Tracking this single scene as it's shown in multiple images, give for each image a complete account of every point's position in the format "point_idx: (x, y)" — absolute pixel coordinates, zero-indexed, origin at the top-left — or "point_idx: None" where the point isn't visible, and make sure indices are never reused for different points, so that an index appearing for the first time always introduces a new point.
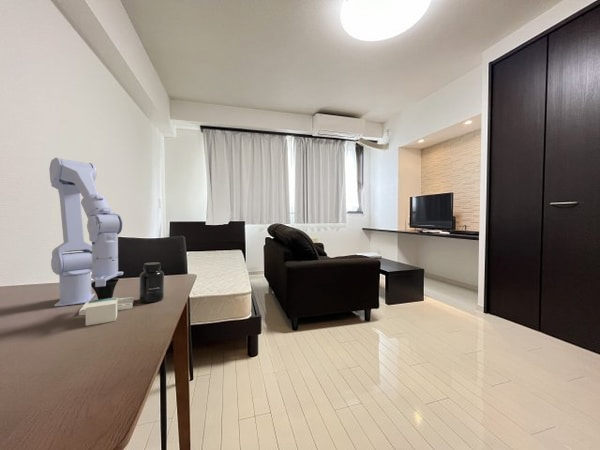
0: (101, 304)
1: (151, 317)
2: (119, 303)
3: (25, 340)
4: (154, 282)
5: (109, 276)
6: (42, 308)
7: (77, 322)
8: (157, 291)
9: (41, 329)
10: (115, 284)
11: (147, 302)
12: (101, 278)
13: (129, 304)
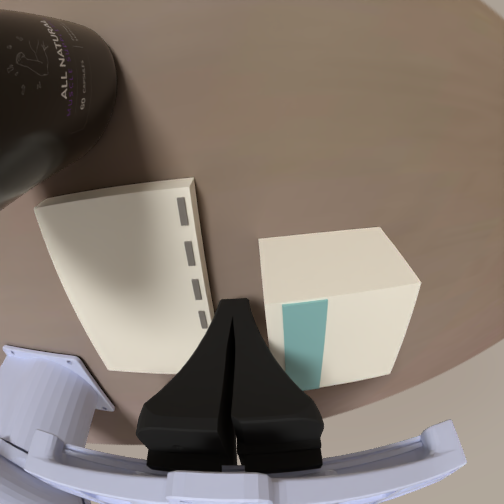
0: (384, 339)
1: (419, 66)
2: (146, 260)
3: (376, 388)
4: (19, 51)
5: (407, 485)
6: (122, 418)
7: None
8: (69, 34)
9: (314, 393)
10: (310, 404)
11: (114, 101)
12: (439, 478)
13: (186, 201)
